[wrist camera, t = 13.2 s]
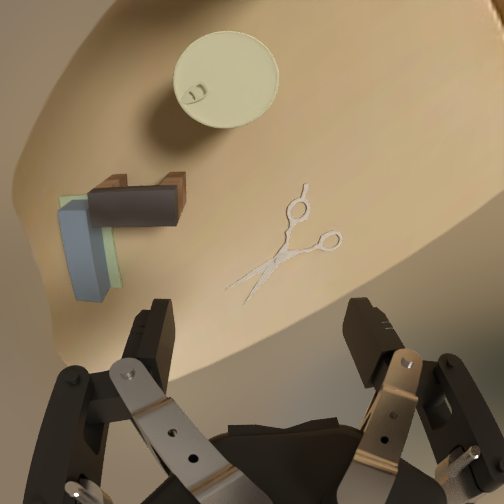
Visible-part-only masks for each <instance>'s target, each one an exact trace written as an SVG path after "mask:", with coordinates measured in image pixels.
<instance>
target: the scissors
mask: <svg viewBox="0 0 504 504" xmlns="http://www.w3.org/2000/svg"><path fill="white" fill-rule="evenodd" d="M308 187H309V184H308V183H305V184H304V188H303V192H302V195H301V198H296V199H294V200H293V201H291V203H290V204H289V205H288V207H287V216H288V218H289V220H290V226H289V228H288V229H287V230H286V231H285V232H286V242H285V243H284V244H283V245H282V247H281V248H280V250H279V251H278V252H277V254H276V255H275V256H274V258H272V259H270V260H269V261H267V262H265V263H264V264H262V265H261V266H259V267H257V268H256V269H254V270H253V271H251V272H250V273H248V274H247V275H245V276H244V277H242V278H241V279H240V280H238V281H237V282H235V283H234V284H232V285H231V286H229V287H228V288H227V289H229V288H231V287H233V286H235V285H237V284H239V283H241V282H243V281H245V280H247V279H249V278H251V277H253V276H255V275H257V274H259V273H261V272H263V271H264V270H265V269H266V270H265V271H264V273H263V275H262V276H261V278H260V279H259V281H258V282H257V284H256V285H255V287H254V289H253V290H252V292H251V293H250V295H249V297H248V298H247V300H248V299H249V298H250V297H251V296H252V295H253V294H254V293H255V292H256V291H257V290H258V288H259V287H260V286H261V285H262V284H263V283H264V282H265V281H266V280H267V279H268V277H269V276H270V275H271V274H272V273H273V272H274V270H275V269H276V268H277V267H278V266H279V264H280V263H283V262H285V261H286V260H288V259H290V258H291V257H293V256H295V255H297V254H299V253H302V252H306V253H309V252H311V251H312V250H314V249H321V250H324V251H331V250H334V249H336V248H337V247H339V246H340V244H341V243H342V239H343V236H342V234H341V233H340V232H338V231H334V230H333V231H329V232H326V233H324V234H322V235H321V237H320V240H319V242H318V244H315V245H314V246H312V247H311V248H307V249H299V250H298V249H293V250H288V246H289V236H290V232H291V230H292V228H293V227H294V226H295V225H296V224H297V223H298V222H301V221H305V220H306V219H307V218H308V216H309V213H310V205H309V202H308V201H307V200H306V199H305V197H306V192H307V189H308ZM297 202H304V203H305V204H306V206H307V209H306V212H305V213H304V215H303V216H301V217H300V218H293V217H292V216H291V209H292V207H293V206H294V205H295V204H296V203H297ZM333 234H337V235H338V236H339V242H338V244H336V245H335V246H334V247H331V248H325V247H324V246H323V244H322V243H323V241H324V239H325V238H327V237H328V236H330V235H333ZM227 289H225V290H227ZM225 290H224V291H225ZM247 300H246V301H247ZM246 301H245V302H246ZM244 304H245V303H244ZM244 304H243V305H244Z"/></svg>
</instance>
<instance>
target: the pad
mask: <svg viewBox="0 0 504 504" xmlns="http://www.w3.org/2000/svg"><path fill="white" fill-rule="evenodd" d="M80 199H88V197H87V194H78V195H64V196H60V197H59V202H60V208H62V207H63V206H64V205H66V204H67V203H68V202H70V201H71V200H80ZM102 234H103V242H104V249H105V255H106V262H107V268H108V274H109V279H110V285H111V286H110V288H122V286H123V285H122V280H121V275H120V270H119V264H118V259H117V253H116V247H115V241H114V234H113V228H112V227H102Z"/></svg>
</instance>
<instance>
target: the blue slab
mask: <svg viewBox="0 0 504 504" xmlns="http://www.w3.org/2000/svg"><path fill="white" fill-rule="evenodd" d="M58 216H59V222H60V228H61V234H62V240H63V245H64V250H65V255H66V260H67V264H68V269H69V273H70V277H71V282H72V286H73V289H74V293H75V297H76V300H80V301H90V302H100V303H102V301H103V300H104V298H105V296H106V294H107V292H108V290H109V288H110V286H111V285H110V279H109V274H108V268H107V262H106V255H105V249H104V242H103V234H102V227H92V224H91V218H90V212H89V205H88V199H80V200H71V201H70V202H68V203H67V204H66V205H64V206H63V207H62V208H60V209H59V210H58Z"/></svg>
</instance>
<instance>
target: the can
mask: <svg viewBox="0 0 504 504" xmlns="http://www.w3.org/2000/svg"><path fill="white" fill-rule="evenodd" d="M278 86H279V71H278V66H277V63H276V61H275V59H274V57H273V55H272V53H271V52H270V51H269V49H268V48H267V47H266V46H265V45H264V44H263V43H261V42H260V41H259V40H257V39H256V38H254V37H252V36H250V35H247V34H244V33H241V32H236V31H219V32H214V33H210V34H207V35H205V36H203V37H200V38H199V39H197V40H196V41H194V42H193V43H192V44H190V45H189V46H188V47H187V48H186V49H185V50H184V52H183V53H182V54H181V56H180V58H179V59H178V61H177V63H176V66H175V69H174V74H173V88H174V93H175V96H176V98H177V101H178V103H179V104H180V106H181V107H182V109H183V110H184V111H185V112H186V113H187V114H188V115H189V116H190V117H191V118H193V119H194V120H196V121H197V122H199V123H201V124H203V125H206V126H209V127H214V128H221V129H229V128H236V127H240V126H243V125H246V124H248V123H251V122H252V121H254V120H256V119H257V118H259V117H260V116H261V115H262V114H264V113H265V112H266V110H267V109H268V108H269V107H270V106H271V104H272V102H273V101H274V99H275V96H276V94H277V91H278Z"/></svg>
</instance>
